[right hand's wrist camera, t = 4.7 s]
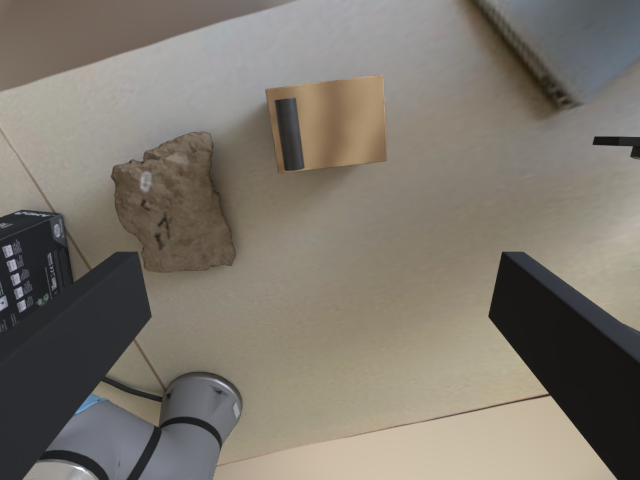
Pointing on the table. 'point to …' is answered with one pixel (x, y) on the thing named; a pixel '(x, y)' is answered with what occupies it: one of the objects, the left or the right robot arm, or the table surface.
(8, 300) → the graphics card box
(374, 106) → the lid
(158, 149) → the stone
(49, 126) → the table surface
